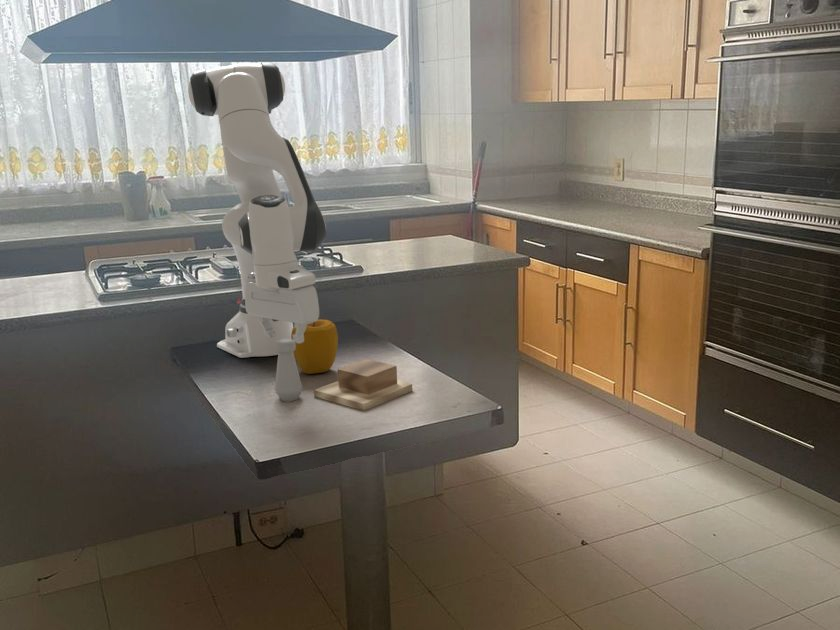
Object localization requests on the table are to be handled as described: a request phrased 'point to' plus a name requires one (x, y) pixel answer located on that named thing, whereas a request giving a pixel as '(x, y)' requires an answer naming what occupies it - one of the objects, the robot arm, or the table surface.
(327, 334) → the apple
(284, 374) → the salt shaker
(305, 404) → the table surface
